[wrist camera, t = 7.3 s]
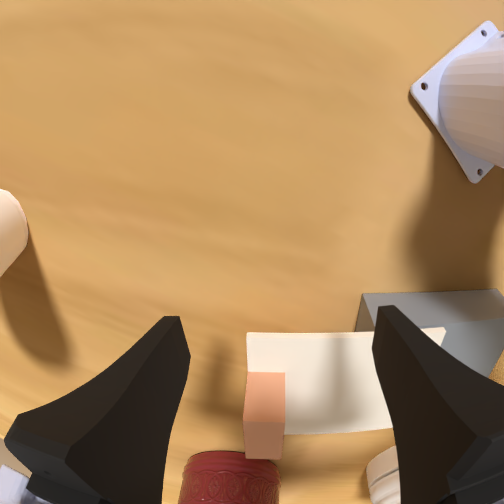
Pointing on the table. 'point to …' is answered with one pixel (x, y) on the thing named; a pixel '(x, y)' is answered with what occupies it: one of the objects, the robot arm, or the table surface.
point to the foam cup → (11, 230)
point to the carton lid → (311, 387)
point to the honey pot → (384, 478)
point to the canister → (229, 480)
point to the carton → (449, 321)
